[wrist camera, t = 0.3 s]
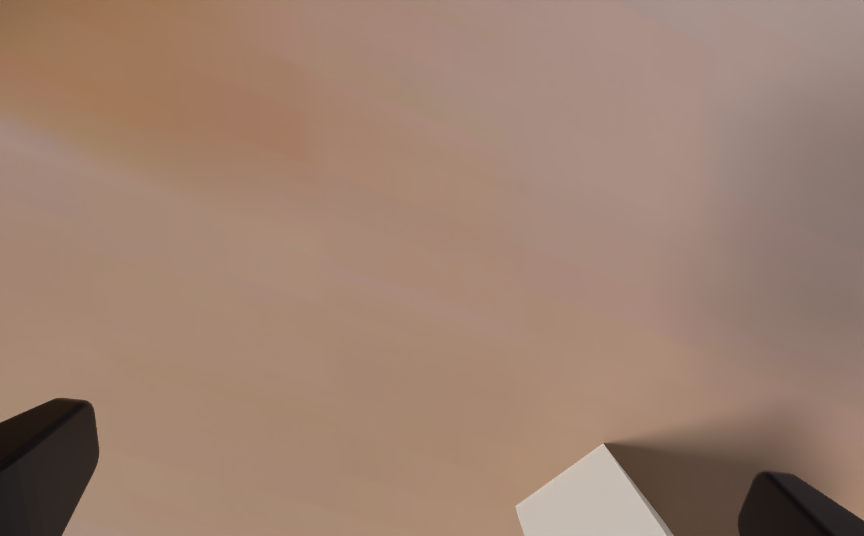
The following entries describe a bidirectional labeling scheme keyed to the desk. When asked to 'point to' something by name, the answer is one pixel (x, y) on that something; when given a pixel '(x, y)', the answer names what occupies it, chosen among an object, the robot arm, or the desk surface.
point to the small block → (590, 503)
